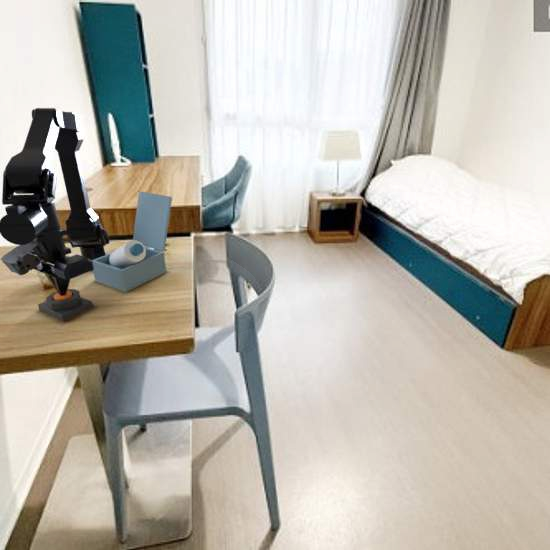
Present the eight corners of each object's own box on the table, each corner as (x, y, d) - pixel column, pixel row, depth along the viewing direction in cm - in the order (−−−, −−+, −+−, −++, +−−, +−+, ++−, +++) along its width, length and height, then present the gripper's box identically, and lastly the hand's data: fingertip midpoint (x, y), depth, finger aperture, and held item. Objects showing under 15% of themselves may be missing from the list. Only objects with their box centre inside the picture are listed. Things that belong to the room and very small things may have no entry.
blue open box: (125, 292, 90) (121, 271, 87) (95, 281, 95) (90, 260, 92) (166, 272, 100) (163, 252, 98) (136, 263, 105) (133, 244, 103)
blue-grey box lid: (170, 196, 95) (172, 197, 96) (138, 190, 100) (141, 191, 101) (162, 250, 97) (164, 250, 98) (132, 242, 102) (134, 242, 103)
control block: (39, 311, 81) (35, 297, 80) (69, 297, 87) (65, 284, 85) (64, 322, 77) (60, 308, 76) (93, 307, 83) (90, 294, 81)
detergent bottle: (104, 255, 95) (122, 242, 86) (123, 247, 99) (142, 234, 89) (115, 274, 96) (134, 263, 86) (133, 265, 99) (153, 254, 90)
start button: (51, 303, 81) (49, 296, 80) (67, 296, 84) (65, 289, 83) (61, 307, 79) (59, 300, 78) (77, 300, 82) (75, 293, 81)
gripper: (-25, 230, 72) (0, 299, 78) (29, 248, 63) (52, 324, 70) (33, 216, 80) (51, 279, 87) (87, 230, 72) (102, 299, 79)
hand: (62, 294), depth 81 cm, fingers closed, pressing on start button
